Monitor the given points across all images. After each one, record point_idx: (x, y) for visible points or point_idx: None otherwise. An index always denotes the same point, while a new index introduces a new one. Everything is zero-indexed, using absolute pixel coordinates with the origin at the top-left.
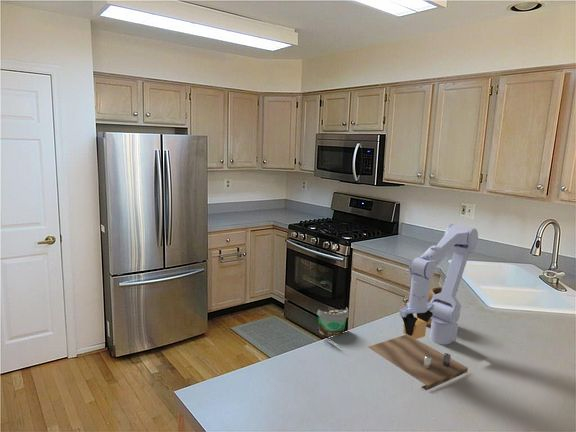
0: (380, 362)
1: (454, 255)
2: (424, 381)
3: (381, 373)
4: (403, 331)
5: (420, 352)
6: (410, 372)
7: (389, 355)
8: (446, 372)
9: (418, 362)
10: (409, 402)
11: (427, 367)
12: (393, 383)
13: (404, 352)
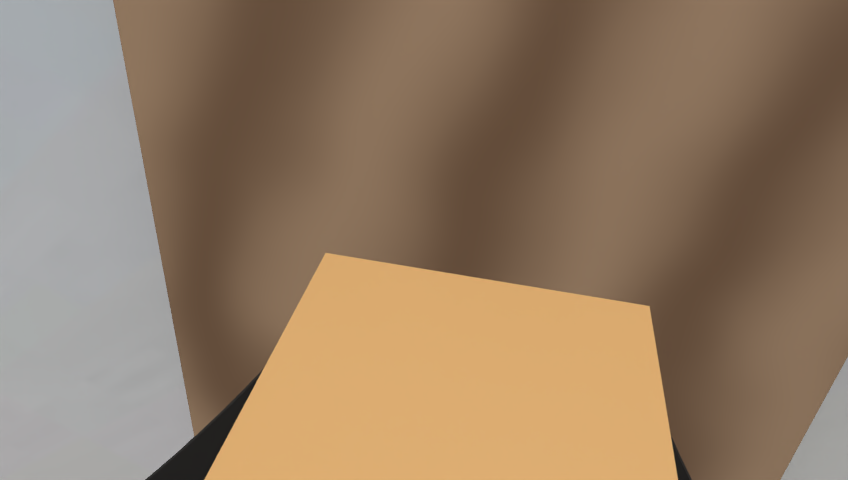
0: (107, 7)
1: None
2: None
3: (9, 144)
4: (313, 279)
5: (641, 233)
6: (203, 343)
7: (217, 45)
8: None
9: None
10: (27, 425)
11: None
12: (36, 281)
13: (458, 115)
